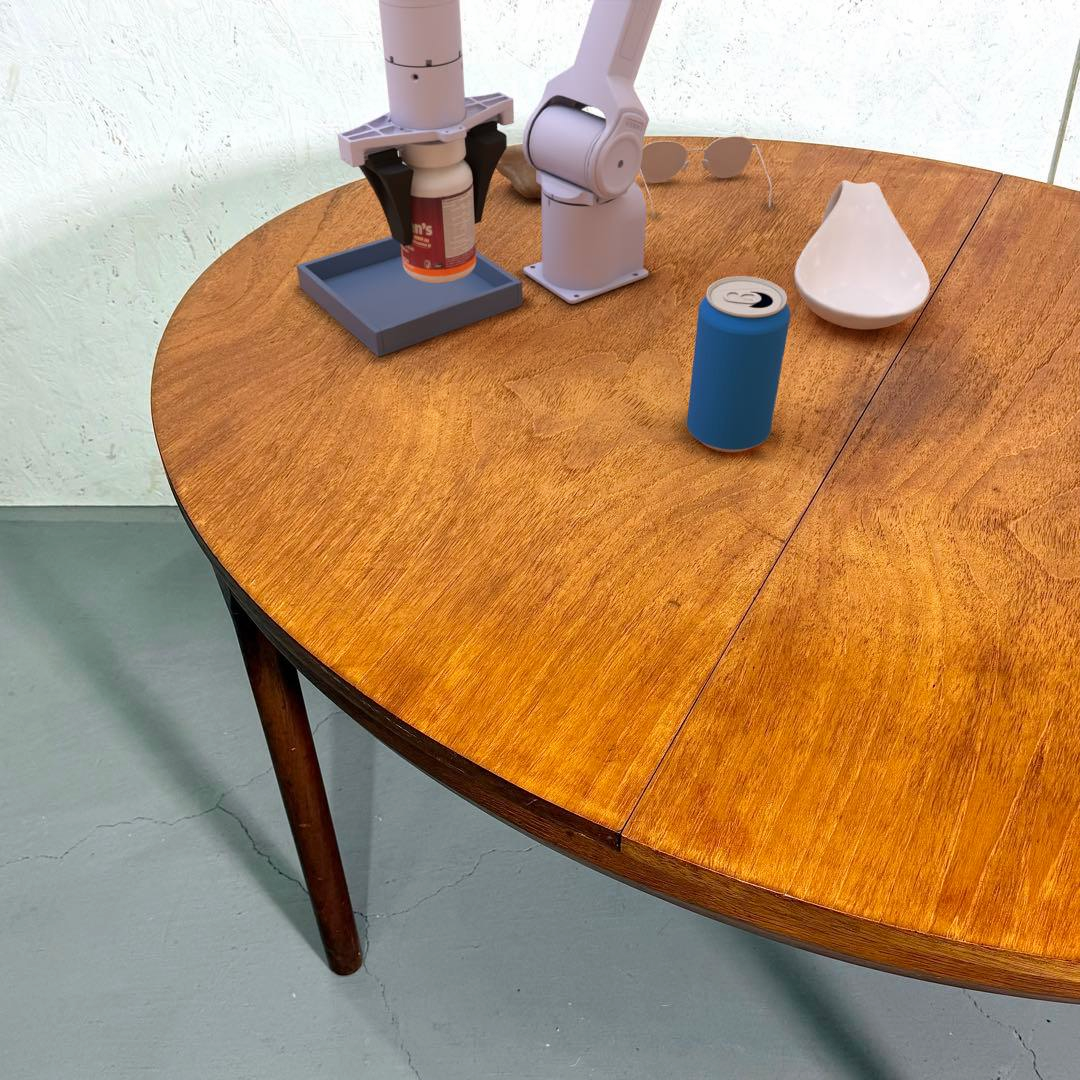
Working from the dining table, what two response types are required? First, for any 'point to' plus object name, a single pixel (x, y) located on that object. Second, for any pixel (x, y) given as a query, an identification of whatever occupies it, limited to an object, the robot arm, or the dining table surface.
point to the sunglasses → (718, 159)
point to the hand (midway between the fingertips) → (436, 229)
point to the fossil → (519, 172)
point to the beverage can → (737, 362)
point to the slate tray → (402, 295)
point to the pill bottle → (440, 212)
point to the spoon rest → (861, 263)
